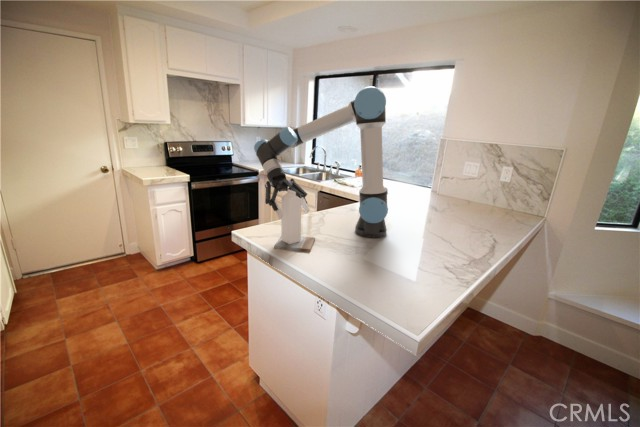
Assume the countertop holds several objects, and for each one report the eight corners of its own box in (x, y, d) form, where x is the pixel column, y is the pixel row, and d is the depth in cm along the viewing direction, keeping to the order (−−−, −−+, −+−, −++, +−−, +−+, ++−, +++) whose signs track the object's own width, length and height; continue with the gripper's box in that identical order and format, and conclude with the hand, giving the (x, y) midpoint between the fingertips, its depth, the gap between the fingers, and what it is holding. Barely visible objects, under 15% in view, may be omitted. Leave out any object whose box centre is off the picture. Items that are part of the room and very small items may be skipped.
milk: (289, 244, 126) (289, 192, 119) (281, 240, 130) (281, 189, 124) (300, 241, 129) (301, 191, 123) (292, 237, 134) (293, 188, 127)
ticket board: (314, 240, 135) (315, 237, 134) (310, 252, 122) (310, 249, 122) (282, 236, 136) (282, 234, 136) (274, 248, 124) (274, 245, 124)
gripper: (293, 174, 141) (313, 213, 135) (245, 179, 125) (265, 224, 118) (301, 165, 136) (322, 205, 129) (251, 168, 119) (273, 214, 113)
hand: (295, 214), depth 124 cm, fingers open, 13 cm apart
